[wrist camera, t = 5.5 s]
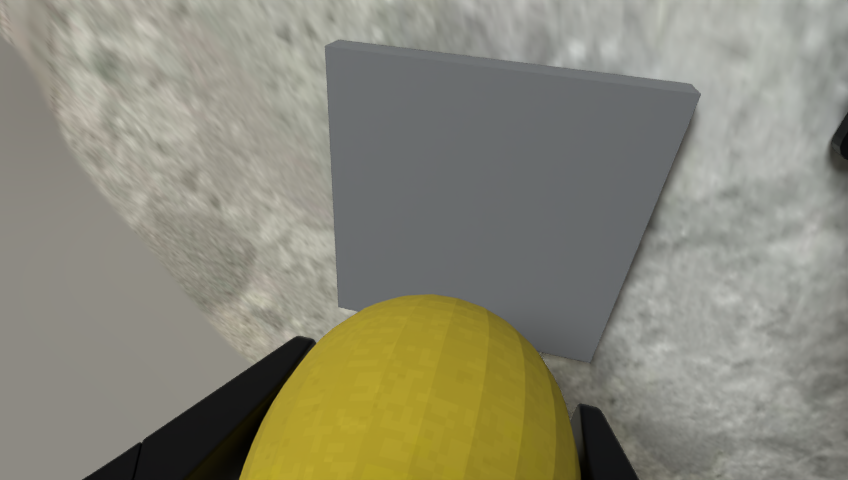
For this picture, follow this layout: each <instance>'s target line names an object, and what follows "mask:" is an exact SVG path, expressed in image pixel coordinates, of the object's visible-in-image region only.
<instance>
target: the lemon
mask: <svg viewBox="0 0 848 480" xmlns="http://www.w3.org/2000/svg"><path fill="white" fill-rule="evenodd" d="M239 480H581V472H580V466H579V459H578V453H577V448H576V444H575V440H574V436H573V432H572V428H571V424H570V420H569V415H568V411H567V407H566V404H565V402H564V399H563V396H562V393H561V390H560V388H559V387H558V385H557V383H556V381H555V379H554V377H553V375H552V374H551V372H550V371H549V369H548V367H547V366H546V364H545V363H544V361H543V360H542V358H541V356H540V355H539V353H538V352H537V351H536V349H535V348H534V347H533V346H532V344H531V343H530V342H529V341H528V340H527V339H526V338H524V337H523V336H522V335H521V334H520V333H519V332H518V331H517V330H516V329H515V328H514V327H513V326H512V325H510V324H509V323H508V322H507V321H506V320H504V319H502V318H501V317H499V316H497V315H496V314H494V313H492V312H491V311H489V310H487V309H485V308H484V307H482V306H479V305H476V304H473V303H470V302H467V301H465V300H462V299H459V298H454V297H448V296H441V295H435V294H425V295H407V296H401V297H397V298H393V299H390V300H386V301H383V302H379V303H376V304H374V305H371V306H369V307H366V308H364V309H363V310H361V311H360V312H358V313H356V314H355V315H353V316H352V317H350V318H348V319H347V320H345V321H344V322H342V323H341V324H339V325H337V326H336V327H334V328H333V329H332V330H331V331H329V332H328V333H327V334H326V335H325V336H324V337H323V338H321V339H320V341H319V342H318V343H317V344H316V345H315V346H314V347H313V348H312V349H311V350H310V351H309V353H308V354H307V355H306V356H305V358H304V359H303V360H302V362H301V363H300V364H299V365H298V367H297V368H296V369H295V371H294V372H293V373H292V375H291V376H290V378H289V379H288V380H287V382H286V383H285V384H284V386H283V387H282V389H281V390H280V392H279V393H278V395H277V396H276V398H275V400H274V401H273V403H272V405H271V406H270V408H269V410H268V412H267V414H266V416H265V417H264V419H263V421H262V423H261V425H260V428H259V430H258V432H257V434H256V436H255V439H254V441H253V443H252V446H251V448H250V451H249V453H248V456H247V459H246V461H245V464H244V466H243V469H242V472H241V475H240V478H239Z"/></svg>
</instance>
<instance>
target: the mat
mask: <svg viewBox="0 0 848 480" xmlns="http://www.w3.org/2000/svg"><path fill="white" fill-rule="evenodd" d="M325 56H326V75H327V94H328V114H329V133H330V152H331V172H332V191H333V211H334V230H335V249H336V269H337V288H338V307H340V308H345V309H349V310H354V311H358V312H360V311H361V310H363V309H364V308H366V307H369V306H371V305H374V304H376V303H379V302H383V301H386V300H390V299H393V298H397V297H401V296H407V295H425V294H435V295H441V296H448V297H454V298H459V299H462V300H465V301H467V302H470V303H473V304H476V305H479V306H482V307H484V308H485V309H487V310H489V311H491V312H492V313H494V314H496V315H497V316H499V317H501V318H502V319H504V320H506V321H507V322H508V323H509V324H510V325H512V326H513V327H514V328H515V329H516V330H517V331H518V332H519V333H520V334H521V335H522V336H523V337H524V338H526V339H527V340H528V341H529V342H530V343H531V344H532V346H533V347H534V348H535V349H536V351H538V352H543V353H547V354H552V355H556V356H561V357H565V358H570V359H574V360H579V361H583V362H588V363H590V362H591V360H592V357H593V355H594V352H595V350H596V348H597V345H598V343H599V340H600V338H601V335H602V333H603V331H604V328H605V326H606V323H607V321H608V318H609V316H610V314H611V311H612V309H613V306H614V304H615V302H616V299H617V297H618V294H619V292H620V289H621V287H622V285H623V282H624V280H625V277H626V275H627V272H628V270H629V268H630V265H631V263H632V260H633V258H634V255H635V253H636V251H637V248H638V246H639V243H640V241H641V239H642V236H643V234H644V231H645V229H646V226H647V224H648V222H649V219H650V217H651V214H652V212H653V209H654V207H655V205H656V202H657V200H658V197H659V195H660V192H661V190H662V188H663V185H664V183H665V180H666V178H667V175H668V173H669V171H670V168H671V166H672V163H673V161H674V159H675V156H676V154H677V151H678V149H679V146H680V144H681V142H682V139H683V137H684V134H685V132H686V129H687V127H688V125H689V122H690V120H691V117H692V115H693V112H694V110H695V108H696V105H697V103H698V100H699V98H700V96H701V94H700V93H699V92H698V91H697V90H696V89H695V88H694V86H693V85H692V84H687V83H679V82H671V81H663V80H655V79H647V78H639V77H632V76H624V75H616V74H608V73H600V72H592V71H584V70H576V69H568V68H560V67H552V66H544V65H536V64H528V63H520V62H512V61H504V60H496V59H488V58H480V57H472V56H464V55H456V54H448V53H440V52H432V51H424V50H416V49H408V48H400V47H392V46H384V45H376V44H368V43H360V42H352V41H344V40H337V41H335V42H333V43H330V44H328V45H326V46H325Z"/></svg>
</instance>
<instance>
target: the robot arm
mask: <svg viewBox="0 0 848 480" xmlns="http://www.w3.org/2000/svg"><path fill="white" fill-rule="evenodd" d="M832 146H833V149H834V150H835V151H836V152H837V153H838V154H839V155H841V156H842V157H843V158H845V159H847V160H848V113H847V115H846V116H845V118H844V120H843V121H842V123H841V125H840V126H839V128H838V129H837V131H836V133H835V134H834V137H833V140H832ZM315 345H316V342H315V340H314V339H311V338H307V337H303V336H296V337H294V338H293V339H291V340H290V341H288V342H287V343H285V344H284V345H282V346H281V347H279V348H278V349H276V350H275V351H273V352H272V353H270V354H269V355H267V356H266V357H265V358H263V359H262V360H260V361H259V362H257V363H256V364H254V365H253V366H251V367H250V368H248V369H247V370H245V371H244V372H242V373H241V374H239V375H238V376H236V377H235V378H234V379H232V380H231V381H229V382H228V383H226V384H225V385H223V386H222V387H220V388H219V389H217V390H216V391H214V392H213V393H212V394H210V395H209V396H207V397H205V398H204V399H203V400H201V401H200V402H198V403H197V404H195V405H194V406H192V407H191V408H189V409H188V410H186V411H185V412H184V413H182V414H180V415H179V416H178V417H176V418H174V419H173V420H172V421H170V422H169V423H167V424H166V425H164V426H163V427H161V428H160V429H158V430H157V431H155V432H154V433H152V434H151V435H149V436H148V437H146V438H145V439H144V440H143V442H142V443H141V442H139V443H137V444H136V445H134V446H133V447H132V448H130V449H128V450H127V451H126V452H124V453H123V454H121V455H120V456H118V457H117V458H115V459H113V460H112V461H110V462H109V463H107V464H106V465H104V466H103V467H101V468H100V469H98V470H97V471H95V472H93V473H92V474H91V475H89V476H87V477H85V478H84V479H82V480H239V478H240V475H241V472H242V469H243V466H244V464H245V461H246V459H247V456H248V453H249V451H250V448H251V446H252V443H253V441H254V439H255V436H256V434H257V432H258V430H259V428H260V425H261V423H262V421H263V419H264V417H265V416H266V414H267V412H268V410H269V408H270V406H271V405H272V403H273V401H274V400H275V398H276V396H277V395H278V393H279V392H280V390H281V389H282V387H283V386H284V384H285V383H286V382H287V380H288V379H289V378H290V376H291V375H292V373H293V372H294V371H295V369H296V368H297V367H298V365H299V364H300V363H301V362H302V360H303V359H304V358H305V356H306V355H307V354H308V353H309V351H310V350H311V349H312V348H313V347H314V346H315ZM570 424H571V428H572V432H573V436H574V440H575V444H576V448H577V453H578V459H579V466H580V472H581V480H639V478H638V477H637V475H636V473H635V471H634V469H633V467H632V466H631V464H630V462H629V460H628V458H627V457H626V455H625V453H624V451H623V449H622V447H621V446H620V444H619V442H618V440H617V438H616V436H615V435H614V433H613V431H612V429H611V427H610V425H609V424H608V422H607V420H606V418H605V416H604V414H603V413H602V411H601V410H600V409H599V408H597V407H593V406H589V405H585V404H579V405H578V406H577V407H576V409H575V411H574V414H573V416H572V419H571V421H570Z"/></svg>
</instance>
